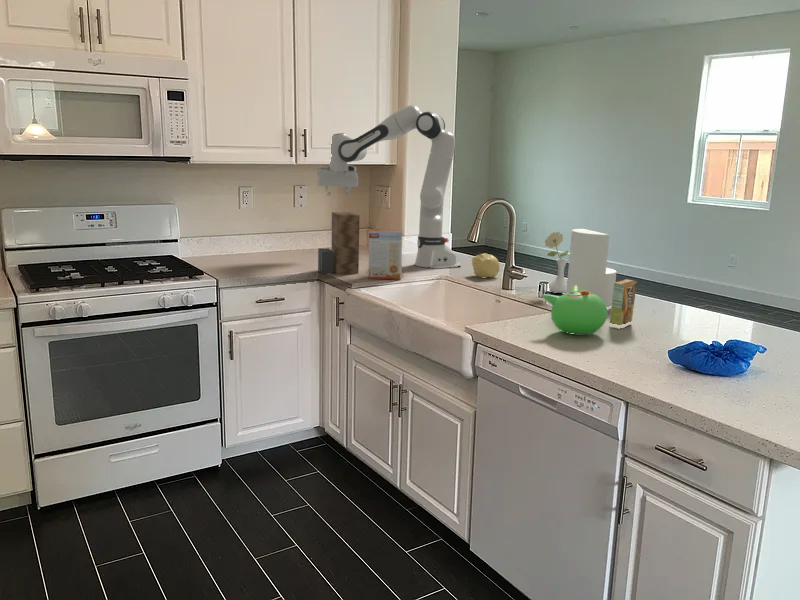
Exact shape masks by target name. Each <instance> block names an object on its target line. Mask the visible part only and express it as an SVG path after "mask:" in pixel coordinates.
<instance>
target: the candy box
mask: <svg viewBox="0 0 800 600" xmlns="http://www.w3.org/2000/svg"><path fill="white" fill-rule="evenodd" d="M637 283H638V281H637V280H632V279H626V278H625V279H622V280H620V281H615V283H614V289H613V298H612V307H611V310H610V317H609V323H612V324H617V325H622V324H626V323H628V322H631V321H632V322H633V315H634V309H635V299H636V294H637V293H636V292H637Z"/></svg>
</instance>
